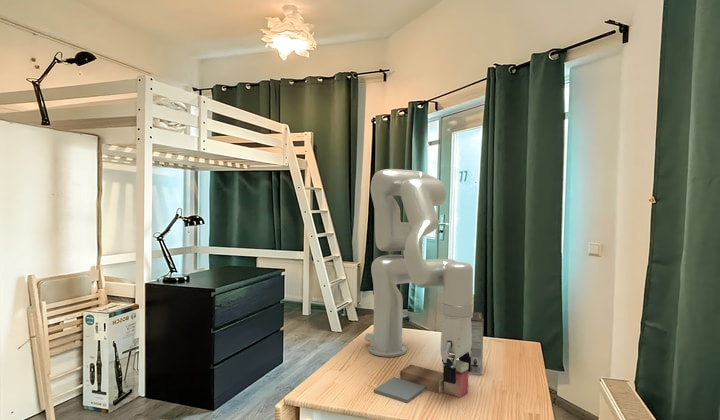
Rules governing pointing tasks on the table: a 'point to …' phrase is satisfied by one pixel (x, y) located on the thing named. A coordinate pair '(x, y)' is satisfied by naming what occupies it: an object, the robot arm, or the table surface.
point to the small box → (458, 380)
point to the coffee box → (477, 344)
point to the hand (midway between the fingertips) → (457, 376)
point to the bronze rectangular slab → (423, 377)
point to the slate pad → (400, 389)
